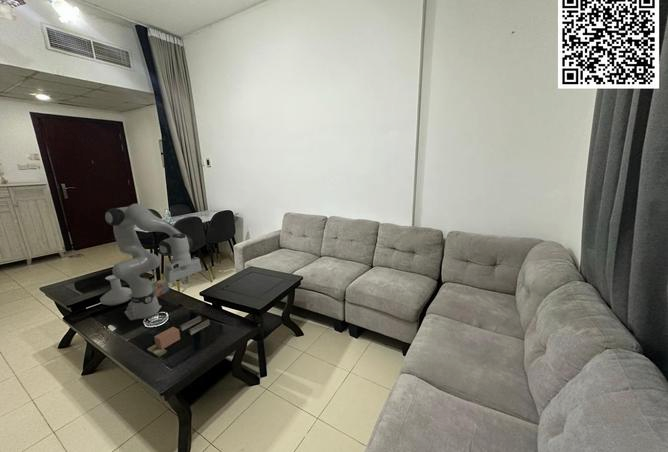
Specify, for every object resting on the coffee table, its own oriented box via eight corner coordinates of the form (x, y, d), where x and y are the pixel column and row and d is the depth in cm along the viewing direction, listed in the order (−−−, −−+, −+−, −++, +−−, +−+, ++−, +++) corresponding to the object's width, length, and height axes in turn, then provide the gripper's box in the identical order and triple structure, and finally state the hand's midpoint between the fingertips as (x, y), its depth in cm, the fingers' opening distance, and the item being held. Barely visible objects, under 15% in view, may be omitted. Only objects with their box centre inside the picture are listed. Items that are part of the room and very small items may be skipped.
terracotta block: (155, 346, 140) (154, 336, 138) (174, 336, 148) (173, 326, 147) (161, 349, 137) (159, 339, 136) (180, 338, 146) (178, 329, 144)
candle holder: (135, 292, 207) (130, 269, 203) (137, 301, 192) (132, 277, 187) (101, 300, 194) (96, 276, 190) (100, 311, 179) (94, 285, 175)
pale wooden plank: (147, 350, 139) (146, 343, 138) (202, 319, 166) (201, 314, 165) (159, 356, 134) (157, 349, 133) (213, 324, 161) (213, 318, 160)
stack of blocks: (162, 290, 210) (160, 275, 207) (169, 290, 209) (167, 276, 206) (138, 303, 190) (135, 287, 187) (146, 303, 188) (143, 288, 186)
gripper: (195, 255, 163) (198, 276, 166) (161, 266, 146) (165, 289, 149) (202, 256, 160) (204, 277, 163) (168, 267, 143) (171, 291, 146)
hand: (185, 283), depth 156 cm, fingers closed
